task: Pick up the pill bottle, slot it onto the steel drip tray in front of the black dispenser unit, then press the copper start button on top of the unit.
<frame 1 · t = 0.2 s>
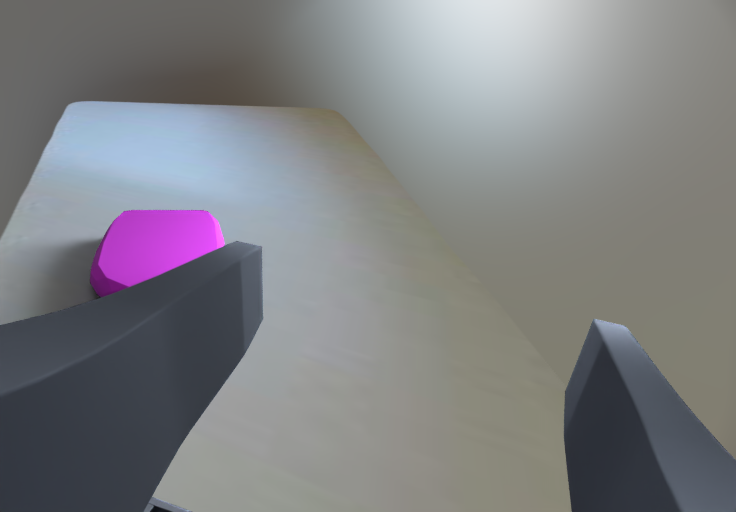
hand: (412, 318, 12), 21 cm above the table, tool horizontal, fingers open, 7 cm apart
spray bottle: (157, 310, 44), on the table
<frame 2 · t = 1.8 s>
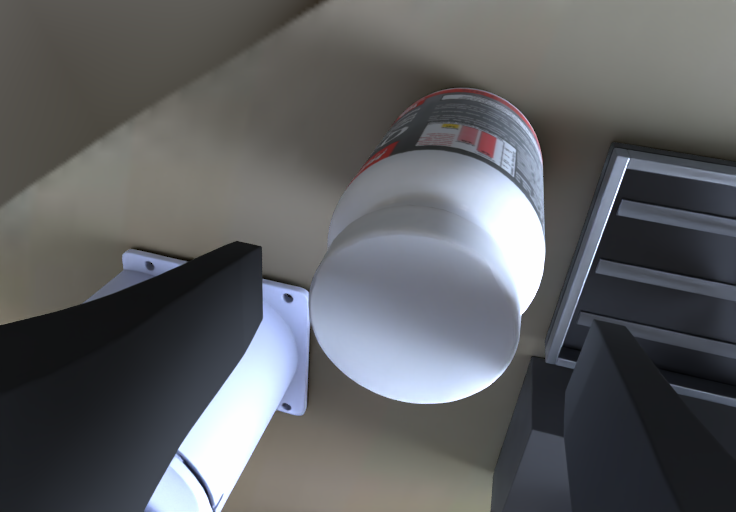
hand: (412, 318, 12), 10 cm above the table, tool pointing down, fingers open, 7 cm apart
drip tray: (721, 281, 20), on the table
pill bottle: (461, 161, 20), on the table
dispenser: (633, 450, 24), on the table
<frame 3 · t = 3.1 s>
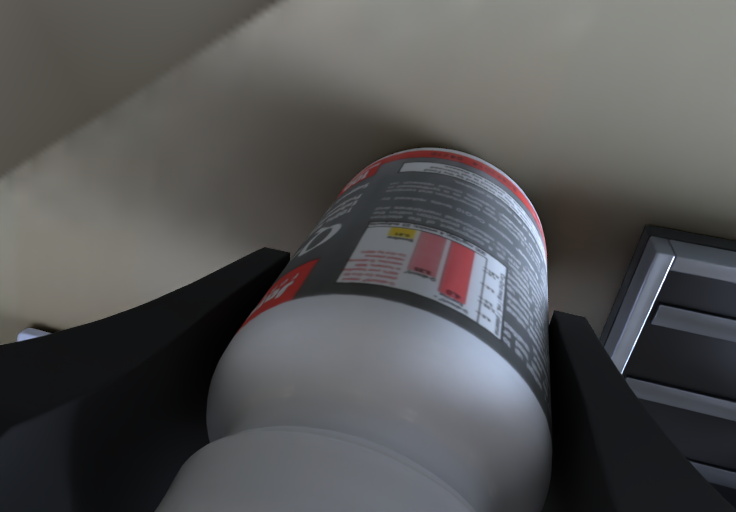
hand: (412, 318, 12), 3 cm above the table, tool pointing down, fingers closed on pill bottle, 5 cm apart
pill bottle: (435, 240, 15), on the table, touching gripper
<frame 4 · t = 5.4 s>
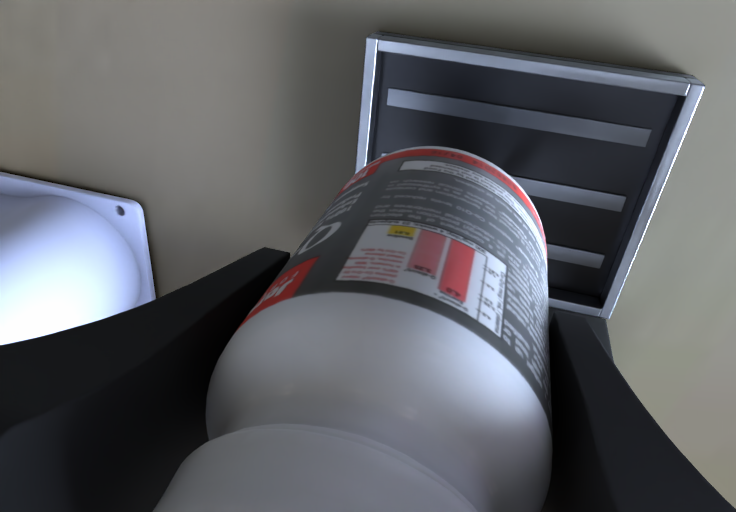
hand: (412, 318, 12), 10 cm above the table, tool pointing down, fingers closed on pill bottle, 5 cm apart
drip tray: (498, 174, 20), on the table
pill bottle: (435, 239, 15), point 7 cm above the table, touching gripper
dispenser: (455, 359, 25), on the table
when the fingers open (4 cm above the table, at t = 7.9 s): pill bottle stays where it is, resting on drip tray.
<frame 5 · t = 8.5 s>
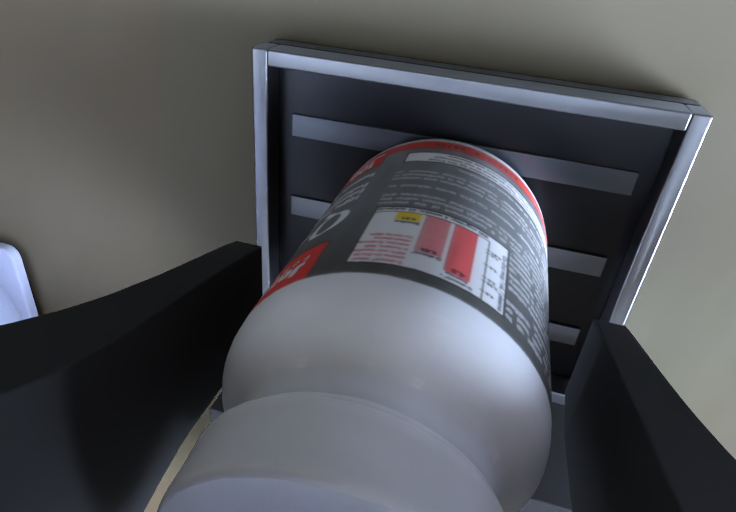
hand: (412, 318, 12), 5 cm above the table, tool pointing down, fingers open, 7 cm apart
drip tray: (442, 223, 16), on the table
pill bottle: (439, 230, 15), point 1 cm above the table, touching drip tray
dispenser: (403, 439, 20), on the table
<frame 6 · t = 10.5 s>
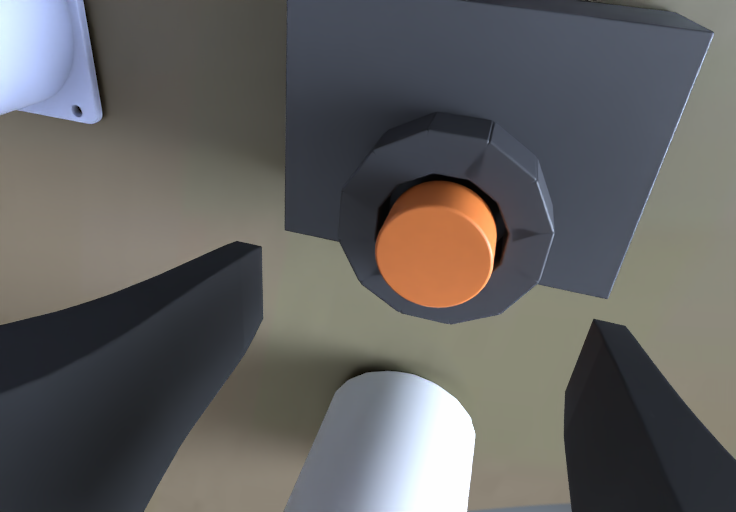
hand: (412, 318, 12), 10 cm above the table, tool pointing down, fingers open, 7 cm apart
dispenser: (472, 112, 20), on the table
can: (404, 412, 28), on the table
start button: (436, 244, 15), point 6 cm above the table, slide at 0.1 cm
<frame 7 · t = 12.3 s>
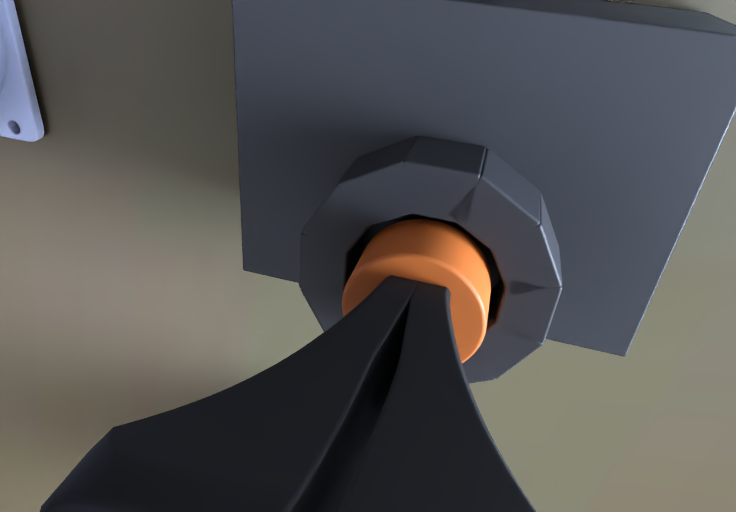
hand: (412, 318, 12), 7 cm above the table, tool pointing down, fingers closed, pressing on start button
dispenser: (463, 130, 17), on the table
start button: (418, 296, 12), point 6 cm above the table, slide at 0.0 cm, touching gripper
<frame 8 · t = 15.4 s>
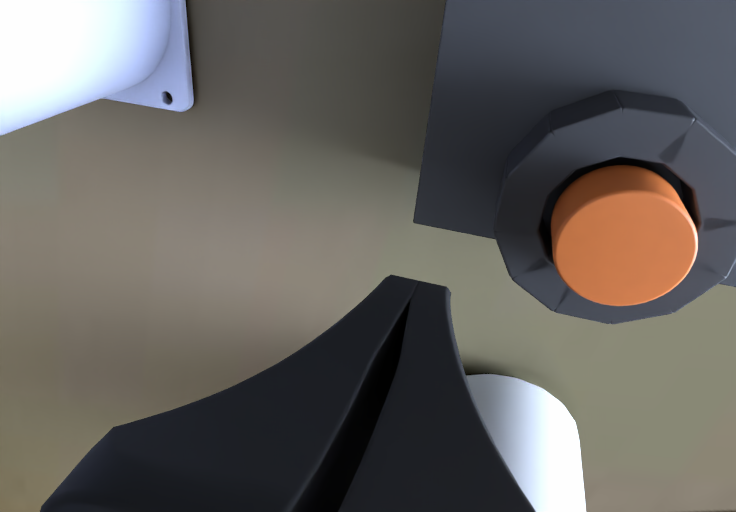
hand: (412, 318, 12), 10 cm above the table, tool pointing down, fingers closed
dispenser: (612, 94, 18), on the table
can: (496, 417, 27), on the table
start button: (618, 235, 14), point 6 cm above the table, slide at 0.1 cm
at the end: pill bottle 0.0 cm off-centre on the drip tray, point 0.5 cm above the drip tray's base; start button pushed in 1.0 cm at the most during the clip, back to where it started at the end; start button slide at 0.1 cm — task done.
